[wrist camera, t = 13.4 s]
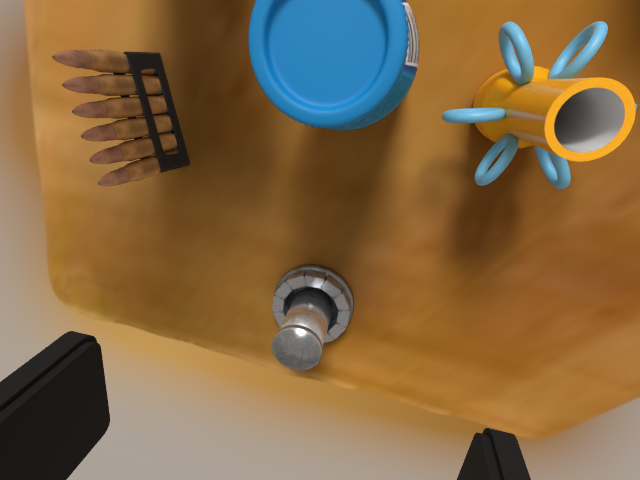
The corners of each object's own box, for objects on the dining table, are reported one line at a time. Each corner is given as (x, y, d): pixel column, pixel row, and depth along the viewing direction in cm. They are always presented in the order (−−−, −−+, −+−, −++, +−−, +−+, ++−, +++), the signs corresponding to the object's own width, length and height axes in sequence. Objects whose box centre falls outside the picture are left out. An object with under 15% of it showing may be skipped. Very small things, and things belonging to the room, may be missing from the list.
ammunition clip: (190, 164, 40) (113, 194, 29) (174, 166, 41) (92, 196, 30) (159, 52, 36) (58, 39, 26) (142, 56, 37) (36, 44, 26)
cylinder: (511, 196, 35) (584, 266, 22) (415, 138, 35) (428, 172, 21) (616, 69, 30) (795, 56, 17) (505, 0, 30) (596, -71, 16)
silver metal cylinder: (294, 282, 42) (273, 323, 35) (336, 290, 42) (324, 334, 34) (291, 317, 44) (270, 364, 37) (331, 326, 43) (318, 375, 36)
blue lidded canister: (381, 132, 35) (365, 183, 17) (300, 89, 35) (198, 93, 17) (431, 40, 32) (479, -19, 14) (342, -9, 32) (271, -134, 14)
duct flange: (261, 301, 45) (255, 312, 43) (306, 248, 41) (301, 257, 39) (321, 346, 46) (318, 359, 44) (370, 298, 42) (369, 309, 40)
